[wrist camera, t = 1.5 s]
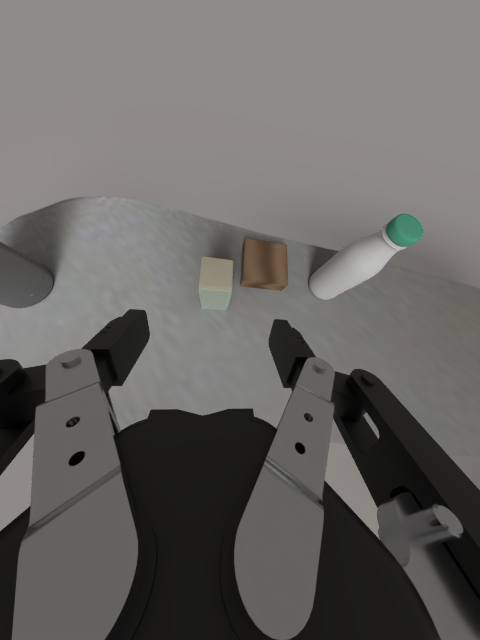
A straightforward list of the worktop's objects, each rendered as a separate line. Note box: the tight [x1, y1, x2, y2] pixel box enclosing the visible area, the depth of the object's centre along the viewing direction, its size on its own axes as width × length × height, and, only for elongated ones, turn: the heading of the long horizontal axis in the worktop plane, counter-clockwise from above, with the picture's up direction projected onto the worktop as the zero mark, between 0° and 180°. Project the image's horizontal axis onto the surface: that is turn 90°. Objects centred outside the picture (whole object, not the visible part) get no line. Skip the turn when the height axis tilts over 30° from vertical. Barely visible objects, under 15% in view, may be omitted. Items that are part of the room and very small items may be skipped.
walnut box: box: [240, 238, 288, 291], centre depth 40 cm, size 10×10×4 cm
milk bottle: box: [309, 214, 423, 300], centre depth 33 cm, size 8×8×20 cm
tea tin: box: [198, 257, 233, 310], centre depth 32 cm, size 5×5×11 cm
